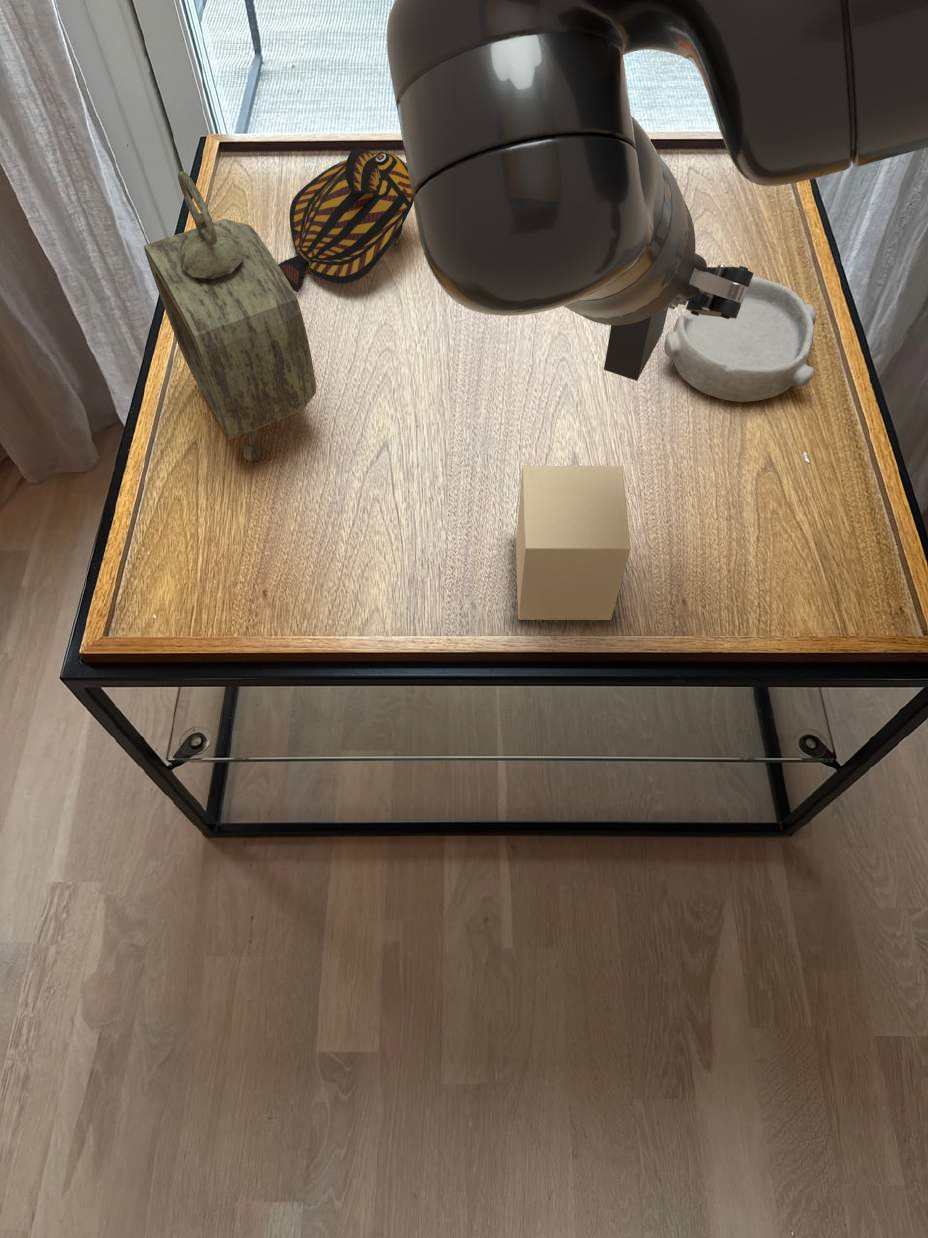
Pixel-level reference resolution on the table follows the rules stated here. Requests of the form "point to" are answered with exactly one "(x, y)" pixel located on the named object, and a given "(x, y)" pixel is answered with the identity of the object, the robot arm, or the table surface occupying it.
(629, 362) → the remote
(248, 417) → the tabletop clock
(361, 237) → the decorative fish sculpture
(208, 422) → the table surface
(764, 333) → the dish
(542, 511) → the stand
